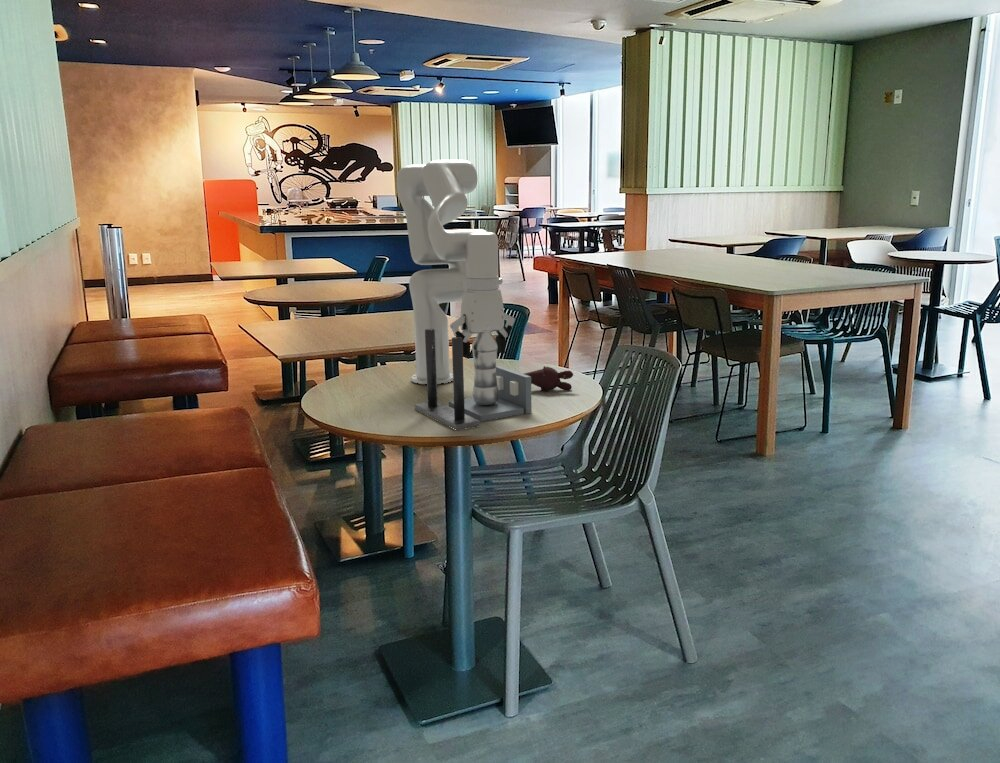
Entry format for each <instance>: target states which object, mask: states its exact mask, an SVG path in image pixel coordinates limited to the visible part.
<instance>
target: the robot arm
mask: <svg viewBox="0 0 1000 763" xmlns="http://www.w3.org/2000/svg"><path fill="white" fill-rule="evenodd" d="M477 185H478V174H477V170H476V167H475V166H474V164H473V163H471V161H469V160H466V159H435V160H430V161H429V162H427V163H416V164H409V165H405V166H403V167H401V168H400V169H399V171H398V172H397V176H396V191H397V196H398V199H399V202H400V204H401V206H402V209H403V211H404V212H403V213H404V215H405V219H406V226H407V234H408V235H407V236H408V242H409V249H410V250H409V252H410V256H411V258H412V261H413V262H414V263H415V264H416V265H420V266H433V265H448V266H449V268H430V269H421V270H418V271H416V272H414V273H413V274H412V275H411V276H410V277H409V282H408V287H409V292H410V298H411V303H412V310H413V321H414V322H413V323H414V326H413V327H414V343H415V365H414V367H415V370H416V373H415V374H413V375H412V376H410V379H411V380H410V381H411V382H413V383H414V384H417V383H418V384H419V385H425V384H427V372H426V348H425V329H435V349H436V376H437V385H442V384H441V383H444V384H448V382H449V383H451V381H452V382H453V372H450V371H451V368H450V342H449V338H450V336H449V327H450V329H451V332H452V333H453V335H454V337H462V342H463V359H468V360H469V359H470V358H471V342H470V341H469V340H470V338H471V337H472V335H474V334H478V333H481V332H483V331H484V329H485V326H486V325H489V326H490V327H491V330H492V332H496V334H497V335H496V336H495V340H496V342H497V345H498V350H497V353H499V354H502V355H503V354H505V353H506V347H507V344H506V342H507V341H506V338H507V337H508V336H509V335H508V334H509V333H510V331H512V329H513V326H514V323H515V321H516V319H515V317H513V316H511V315H509V314H508V313H505V308H504V302H503V301H504V300H503V296H502V291H501V289H499V288H500V285H502V284H503V282H504V281H503V278H500V277H499V238H498V235H497V234H496V232H491V231H488V230H486V229H483V228H469V229H468V228H462V229H460V228H459V229H445V227H444V226H445V225H447V224H449V223H451V222H453V221H455V220H456V219H458V218H460V217H462V215H463V214H464V213H465V212H466V210H467V209H468V208H467V207H468V204H469V203H468V198H467V196H466V195H467V194H470V193H472V192H474V191H475V189H476V187H477ZM425 197H428V198H430V201H431V203H432V204H430V202H429V201H427V200H426V199H425ZM455 302H456V303H458V302H461V303H460V317H458V319H455V321H453V322H452V323H451V324H450V325H449V320H448V319H449V318H448V316H447V315H446V313H445V311H444V310H443V309H442V308H441V306H440V304H443V303H445V304H446V303H455ZM505 321H506V324H505ZM460 330H461V331H460ZM492 332H491V333H492Z"/></svg>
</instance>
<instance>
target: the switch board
mask: <svg viewBox="0 0 1000 763" xmlns="http://www.w3.org/2000/svg"><path fill="white" fill-rule="evenodd" d="M496 379H497V386H498V391H499V397H498V401H497V402H496V403H495V404H492V405H479V404H476V403H475V401H474V399H473V397H468V398H464V410H465V414H466V415H468V416H470V417H473V418H475V419H477V420H479V423H482V422H487V420H489V421H492V420H491V419H494V420H497V419H496V418H500V419H503V418H502V417H505V418H508V417H507V416H510V417H513V416H512V415H516V416H519V414H521V415H524V414H526V413H527V414H530V413H529V412H532V411H533V410H532V409H533V408H532V384H531V376H528V375H525V374H524V373H522V372H519V371H516V370H513V369H511V368H507V367H505V366H504V367H503V366H501V365H498V364H496ZM448 406H449V407H451V408H453V409H454V400H450V401H448ZM524 412H525V413H524ZM532 413H533V412H532Z"/></svg>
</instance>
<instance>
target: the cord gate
mask: <svg viewBox="0 0 1000 763" xmlns="http://www.w3.org/2000/svg"><path fill="white" fill-rule="evenodd" d="M425 348H426V372H427V385H426V389H427V390H426V392H427V393H426V394H427V396H426V397H427V401H426V402H425V401H424V402H420V403H415V404H414V410H415V411H417V410H418V411H417V412H419V411H420V412H419V413H421V412H422V413H421V414H423V415H424V414H426V415H428V416H430V417H432V418H434V419H436V420H438V421H440V422H442V423H444V424H446V425H448V426H450V427H452V428H454V429H456V430H458V431H460V430H459V429H464V430H466V429H465V428H469V429H473V428H472V427H475V428H478V427H477V426H479V427H480V421H479V420H477V419H475V418H473V417H470V416H468V415H466V414H465V410H464V399H465V385H464V384H465V383H464V382H465V381H464V380H465V379H464V357H463V342H462V337H456V336H453V337H451V356H452V360H451V361H452V373H453V381H452V383H453V385H452V388H453V391H452V392H453V401H454V409H453V408H451V407H449V405H447V404H444V403H443V402H441V401H439V400H438V384H437V376H436V349H435V329H425ZM426 415H425V416H426ZM428 416H427V417H428ZM430 417H429V418H430ZM432 418H431V419H432ZM434 419H433V420H434ZM436 420H435V421H436ZM438 421H437V422H438ZM440 422H439V423H440ZM442 423H441V424H442ZM444 424H443V425H444ZM446 425H445V426H446ZM448 426H447V427H448ZM450 427H449V428H450ZM452 428H451V429H452ZM454 429H453V430H454ZM456 430H455V431H456Z"/></svg>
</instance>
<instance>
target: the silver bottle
mask: <svg viewBox="0 0 1000 763" xmlns="http://www.w3.org/2000/svg"><path fill="white" fill-rule="evenodd" d="M471 350H472V352H471V353H472V358H473V366H474V367H473V368H474V379H473V380H474V382H473V387H472V398H473V399H474V401H475V403H476V404H479V405H492V404H495V403H496V402H497V401H498V397H499V391H498V386H497V379H496V365H497V358H498V352H497V350H498V345H497V342H496V337H494V336H493V334H492V330H491V327H490V326H489V325H486V326H485V329H484V331H483V332H481V333H477V334H476V336H475V337H474V339H473V341H472V343H471Z"/></svg>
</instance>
